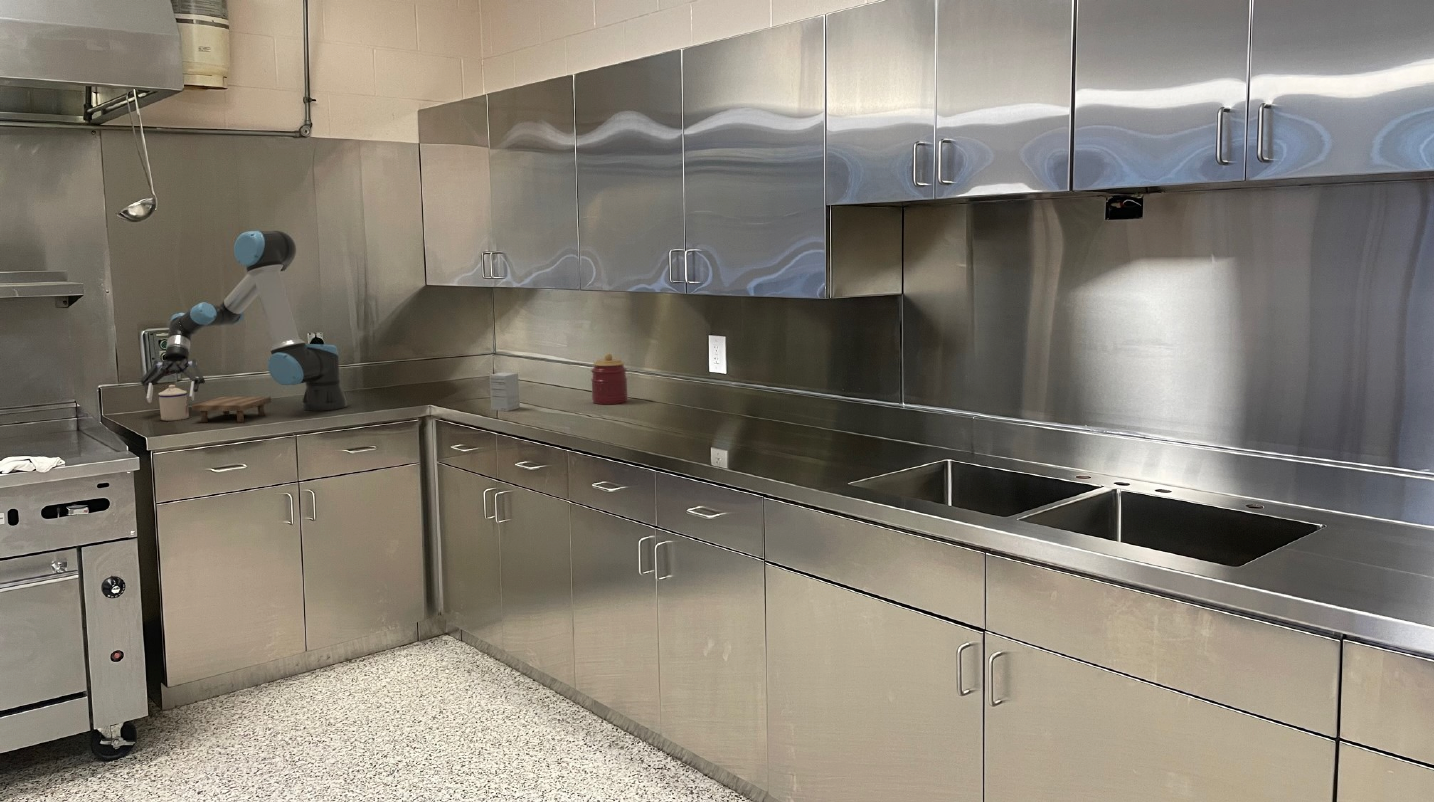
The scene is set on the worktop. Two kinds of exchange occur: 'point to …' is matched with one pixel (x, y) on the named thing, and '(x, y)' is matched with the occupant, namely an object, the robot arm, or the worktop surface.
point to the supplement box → (504, 391)
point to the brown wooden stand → (231, 406)
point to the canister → (609, 381)
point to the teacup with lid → (173, 404)
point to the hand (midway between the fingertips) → (170, 399)
